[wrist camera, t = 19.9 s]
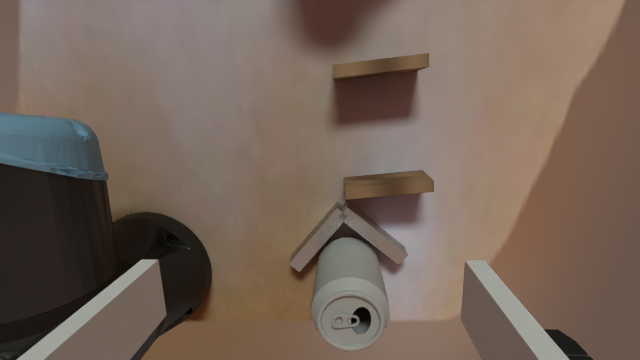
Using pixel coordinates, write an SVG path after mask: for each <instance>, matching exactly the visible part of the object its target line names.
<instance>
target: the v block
mask: <svg viewBox="0 0 640 360" xmlns="http://www.w3.org/2000/svg"><path fill="white" fill-rule="evenodd" d="M343 222H344V223H346V224H347V225H348V226H349V227H351V228H352V229H353V230H355V231H356V232H357V233H358V234H360V235H361V236H362V237H363V238H365V239H366V240H367V241H369V242H370V243H371V244H372V245H374V246H375V247H376V248H378V249H379V250H380V251H381V252H383V253H384V254H385V255H386V256H388V257H389V258H390V259H392V260H393V261H394V262H395V263H397V264H398V265H399V264H400V263H401V262H402V261H403V260H404V259H405V258H406V257H407V256H408V254H407V252H406V250H405V247H404V246H403V245H402V244H401V243H399V242H398V241H397V240H396V239H394V238H393V237H392V236H391V235H389V234H388V233H387V232H386V231H384V230H383V229H382V228H381V227H379V226H378V225H377V224H376V223H374V222H373V221H372V220H370V219H369V218H368V217H367V216H365V215H364V214H363V213H362V212H360V211H359V210H358V209H357V208H355V207H354V206H353V205H352V204H350V203H349V202H348V201H346V202H345V203H344V205H343V206H342V205H341V204H340V203H339V202H337V203H336V204H335V205H334V206H333V207H332V208H331V210H330V211H329V212H328V213H327V214H326V215H325V217H324V218H323V219H322V220H321V221H320V222H319V224H318V225H317V226H316V227H315V228H314V229H313V231H312V232H311V233H310V234H309V235H308V236H307V237H306V239H305V240H304V241H303V242H302V243H301V244H300V246H299V247H298V248H297V249H296V250H295V251H294V253H293V254H292V255H291V259H290V262H289V265H291V266H292V267H293V268H295V269H296V270H297V271H299V272H300V271H301V270H302V269H303V267H304V266H305V265H306V264H307V263H308V262H309V261H310V260H311V258H312V257H313V256H314V255H315V254H316V253H317V252H318V250H319V249H320V248H321V247H322V246H323V245H324V244H325V243H326V241H327V240H328V239H329V238H330V237H331V236H332V235H333V233H334V232H335V231H336V230H337V229H338V228H339V227H340V225H341V224H342V223H343Z"/></svg>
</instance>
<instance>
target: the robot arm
mask: <svg viewBox="0 0 640 360" xmlns="http://www.w3.org/2000/svg"><path fill="white" fill-rule="evenodd" d="M106 180H108V174H107V173H106V172H105V170H104V165H103V161H102V156H101V151H100V147H99V142H98V139H97V136H96V134H95V133H94V131H93V130H92V129H91V128H90V127H89V126H87V125H86V124H84V123H82V122H80V121H77V120H74V119H67V118H58V117H47V116H35V115H22V114H9V113H0V360H141V358H142V357H143V356H144V354H145V352H147V350H148V349H149V348H150V346H151V345H152V344H153V342H154V341H155V340H156V339H157V337H159V336H160V335H162V334H164V333H165V332H167V331H168V330H170V329H172V328H174V327H175V326H177V325H178V324H180V323H182V322H183V321H185V320H186V319H187V318H189V317H190V316H191V315H192V314H193V313H194V312H195V310H196V309H197V308H198V306H199V305H200V304H201V302H202V301H203V299H204V298H205V296H206V294H207V292H208V289H209V286H210V282H211V266H210V261H209V257H208V255H207V252H206V250H205V248H204V246H203V244H202V243H201V241H200V240H199V239H198V237H197V236H196V235H195V234H194V233H193V232H192V231H191V230H190V229H189V228H187V227H186V226H185V225H183V224H182V223H180V222H179V221H177V220H175V219H173V218H171V217H168V216H165V215H162V214H157V213H150V212H142V213H134V214H130V215H127V216H124V217H122V218H120V219H118V220H117V221H115V222H112V216H111V209H110V202H109V196H108V189H107V182H106ZM461 321H462V323H463V325H464V326H465V328H466V330H467V332H468V334H469V336H470V338H471V340H472V342H473V343H474V345H475V347H476V349H477V351H478V353H479V355H480V357H481V359H482V360H593V359H592V358H591V357H588V354H587V353H586V352H585V351H584V350H583V349H582V348H581V347H580V346H579V344H578V343H577V342H576V341H574V340H573V339H571V338H570V337H568V336H567V335H565V334H564V333H562V332H561V331H559V330H546V329H543V328H542V327H541V326H540V325H539V324H538V322H537V321H536V320H535V319H534V318H533V317H532V315H531V314H530V313H529V312H528V311H527V310H526V309H525V307H524V306H523V305H522V304H521V303H520V302H519V300H518V299H517V298H516V297H515V296H514V295H513V293H512V292H511V291H510V290H509V289H508V288H507V287H506V285H505V284H504V283H503V282H502V281H501V279H500V278H499V277H498V276H497V275H496V274H495V273H494V271H493V270H492V269H491V268H490V267H489V266H488V264H487V263H486V262H485V261H465V269H464V283H463V297H462V310H461Z"/></svg>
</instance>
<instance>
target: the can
mask: <svg viewBox="0 0 640 360" xmlns="http://www.w3.org/2000/svg"><path fill="white" fill-rule="evenodd" d="M311 313H312V320H313V322H314V324H315V326H316V329H317V330H318V331H319V332H320V334H321V336H322V338H323V339H324V340H325V341H326V342H327V343H328V344H330V345H331V346H333V347H335V348H337V349H341V350H344V351H359V350H363V349H366V348H368V347H370V346H371V345H373V344H374V343H376V341H377V340H378V339H379V338H380V337H381V335H382V333H383V331H384V329H385V328H386V326H387V323H388V320H389V303H388V299H387V295H386V290H385V286H384V282H383V277H382V273H381V269H380V264H379V260H378V258H377V255H376V253H375V251H374V250H373V249H372V248H371V246H370V245H368V244H367V243H365V242H364V241H362V240H359V239H356V238H352V237H350V238H340V239H337V240H334V241H332V242H331V243H329V244H328V245H327V246H325V247H324V249H323V250H322V252H321V253H320V256H319V259H318V263H317V270H316V277H315V284H314V291H313V298H312V305H311Z"/></svg>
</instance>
